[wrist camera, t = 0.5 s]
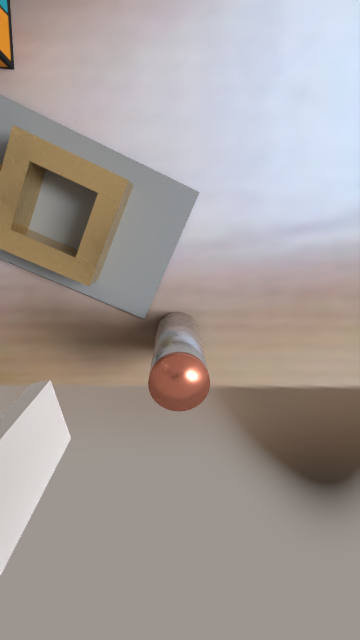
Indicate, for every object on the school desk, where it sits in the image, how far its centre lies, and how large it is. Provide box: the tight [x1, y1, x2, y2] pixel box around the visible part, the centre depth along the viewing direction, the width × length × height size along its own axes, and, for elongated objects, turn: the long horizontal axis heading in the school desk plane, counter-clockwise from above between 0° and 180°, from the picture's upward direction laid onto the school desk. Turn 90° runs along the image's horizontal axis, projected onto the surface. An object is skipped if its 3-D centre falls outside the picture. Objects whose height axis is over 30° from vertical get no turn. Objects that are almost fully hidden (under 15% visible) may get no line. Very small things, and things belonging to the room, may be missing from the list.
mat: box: [0, 95, 199, 319], centre depth 31 cm, size 20×14×1 cm
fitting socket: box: [0, 125, 134, 286], centre depth 29 cm, size 17×10×4 cm, turn 66°
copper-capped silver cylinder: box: [148, 312, 210, 411], centre depth 29 cm, size 5×5×12 cm
